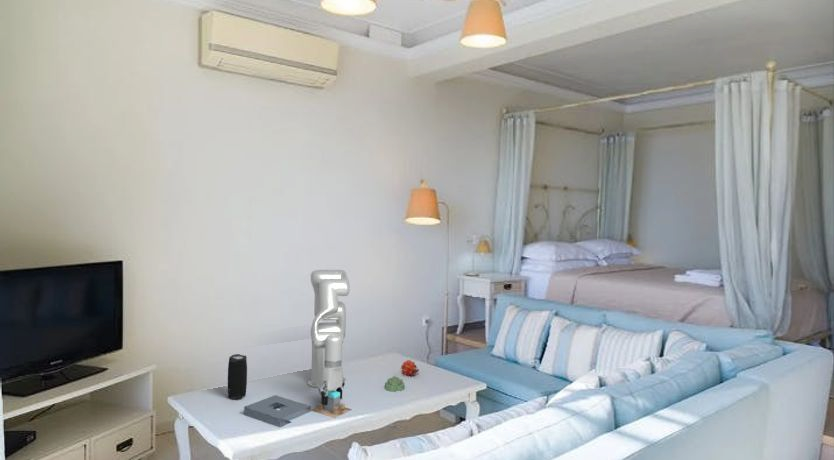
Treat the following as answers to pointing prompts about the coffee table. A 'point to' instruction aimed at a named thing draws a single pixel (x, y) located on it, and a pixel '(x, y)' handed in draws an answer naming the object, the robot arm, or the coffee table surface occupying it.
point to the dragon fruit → (409, 368)
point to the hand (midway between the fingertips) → (331, 401)
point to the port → (269, 414)
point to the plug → (332, 400)
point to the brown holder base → (337, 410)
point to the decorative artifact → (394, 384)
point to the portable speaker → (237, 376)
